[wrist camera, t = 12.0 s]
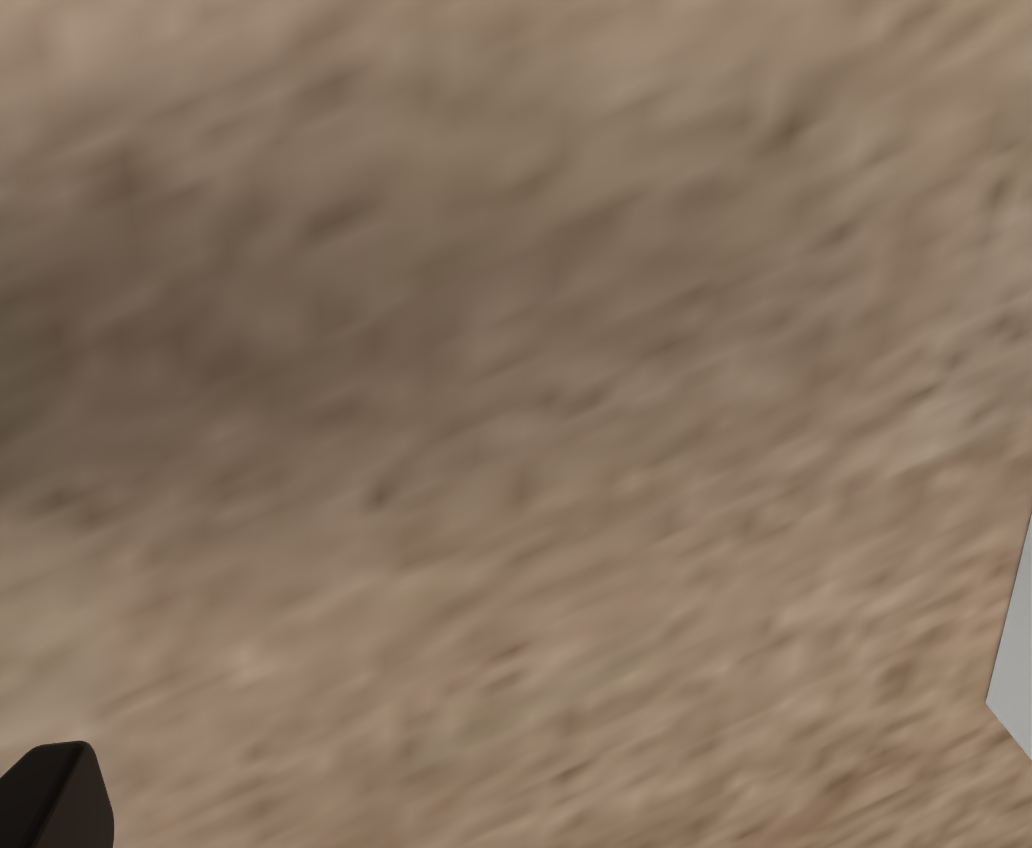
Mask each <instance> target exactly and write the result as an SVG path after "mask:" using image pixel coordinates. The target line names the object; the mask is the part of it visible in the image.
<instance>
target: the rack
mask: <svg viewBox="0 0 1032 848" xmlns="http://www.w3.org/2000/svg"><path fill="white" fill-rule="evenodd" d="M986 704H987V705H988V707H989V708H990V709H991V710H992V712H993V713H994V714H995V715H996V716H997V718H998V719H999V720H1000V721H1001V723H1002V724H1003V725H1004V726H1005V728H1006V729H1007V730H1008V731H1009V733H1010V734H1011V735H1012V736H1013V738H1014V739H1015V740H1016V741H1017V742H1018V744H1019V745H1020V746H1021V747H1022V749H1023V750H1024V751H1025V752H1026V754H1027V755H1028V756H1029V757H1030V759H1031V760H1032V515H1031V519H1030V523H1029V528H1028V532H1027V536H1026V540H1025V544H1024V548H1023V552H1022V556H1021V560H1020V564H1019V568H1018V573H1017V577H1016V581H1015V585H1014V589H1013V593H1012V597H1011V601H1010V605H1009V609H1008V614H1007V618H1006V622H1005V626H1004V630H1003V634H1002V638H1001V642H1000V646H999V650H998V654H997V659H996V663H995V667H994V671H993V675H992V679H991V683H990V687H989V691H988V695H987V699H986Z"/></svg>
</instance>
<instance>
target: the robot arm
mask: <svg viewBox="0 0 1032 848" xmlns="http://www.w3.org/2000/svg"><path fill="white" fill-rule="evenodd" d="M113 841H114V817H113V811H112V807H111V804H110V801H109V797H108V794H107V791H106V787H105V784H104V781H103V777H102V774H101V771H100V767H99V764H98V761H97V757H96V754H95V752H94V750H93V748H92V747H91V745H90V744H89V743H87V742H84V741H71V742H62V743H53V744H44V745H40V746H37V747H35V748H33V749H31V750H30V751H29V752H28V753H26V754H25V755H24V756H23V757H22V758H21V759H20V760H19V761H18V762H17V763H16V764H15V765H13V766H12V767H11V768H10V769H9V770H8V771H7V772H6V773H5V774H4V775H3V776H2V777H1V778H0V848H113Z"/></svg>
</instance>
